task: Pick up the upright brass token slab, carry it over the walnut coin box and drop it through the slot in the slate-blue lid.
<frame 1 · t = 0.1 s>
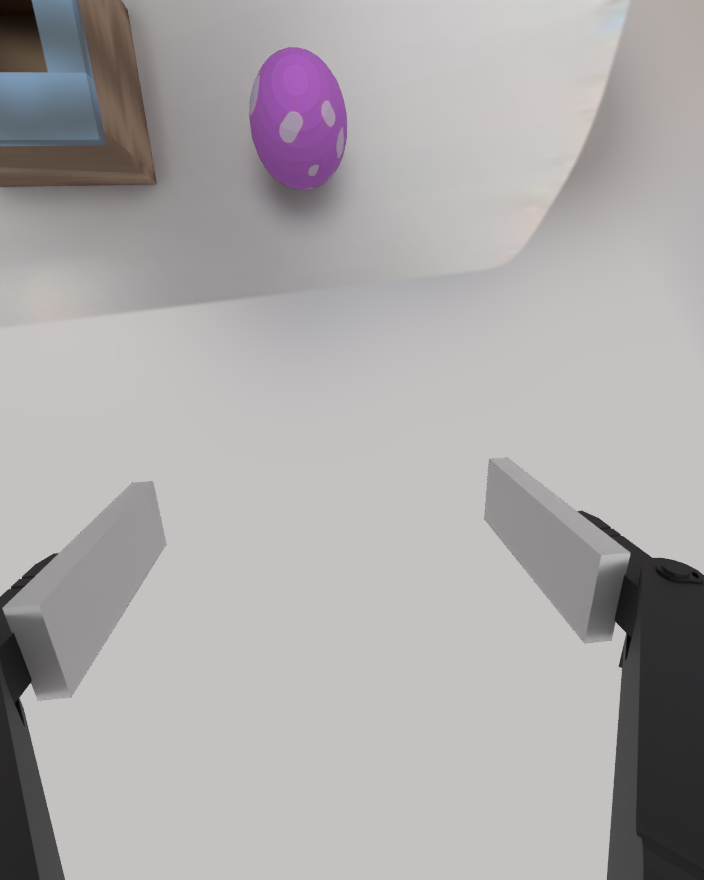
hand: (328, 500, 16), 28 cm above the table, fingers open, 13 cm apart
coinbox: (61, 102, 33), on the table
toy: (302, 170, 36), on the table
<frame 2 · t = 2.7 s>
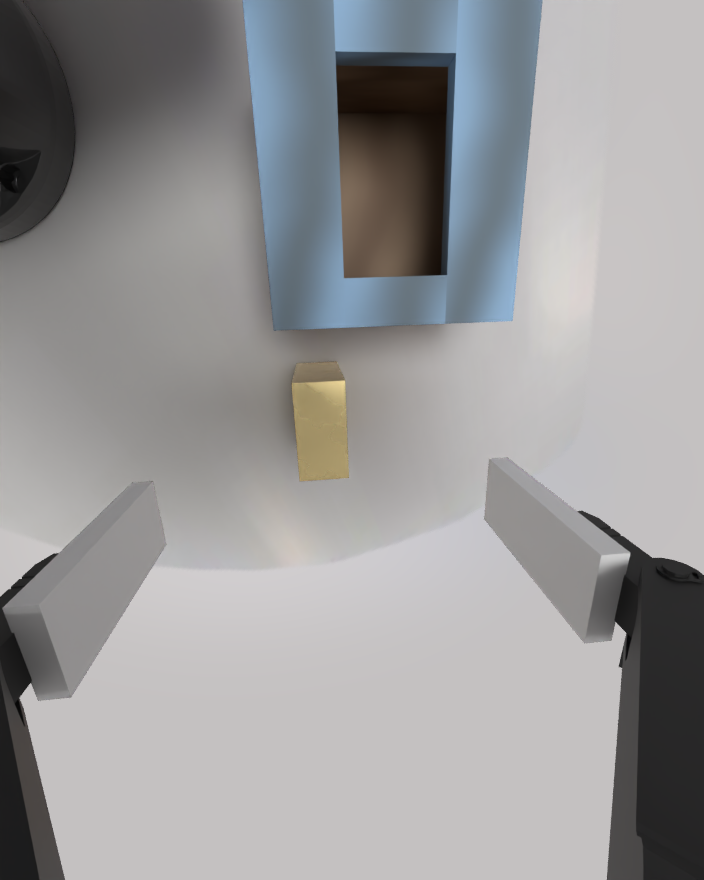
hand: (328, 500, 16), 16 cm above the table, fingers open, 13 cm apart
token: (319, 401, 31), on the table
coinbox: (367, 218, 27), on the table
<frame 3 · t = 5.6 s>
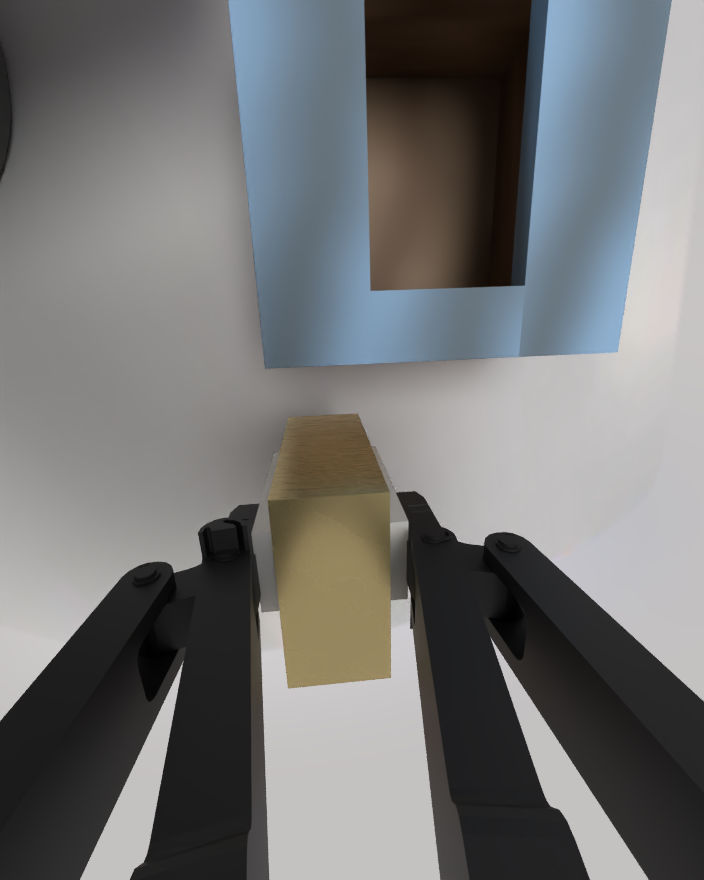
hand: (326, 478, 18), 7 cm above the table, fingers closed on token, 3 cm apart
token: (326, 478, 18), point 6 cm above the table, touching gripper
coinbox: (392, 216, 21), on the table
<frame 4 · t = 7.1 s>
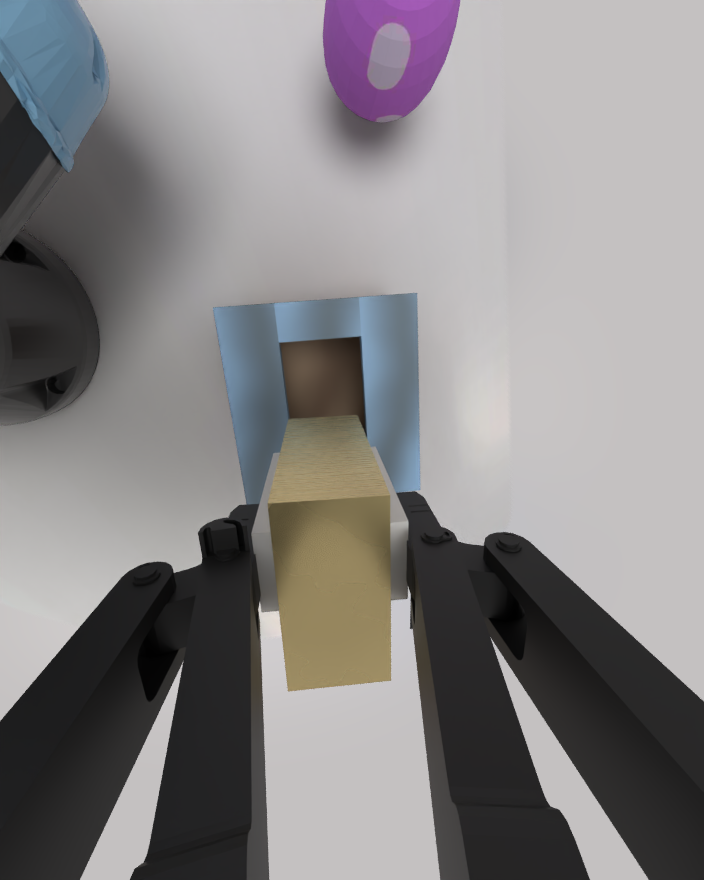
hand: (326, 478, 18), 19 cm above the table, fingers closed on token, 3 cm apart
token: (326, 480, 18), point 18 cm above the table, touching gripper
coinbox: (323, 380, 35), on the table
toy: (366, 110, 29), on the table
when the fingers open (11 cm above the table, at t = 8.7 s): token drops 9 cm, resting on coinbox.
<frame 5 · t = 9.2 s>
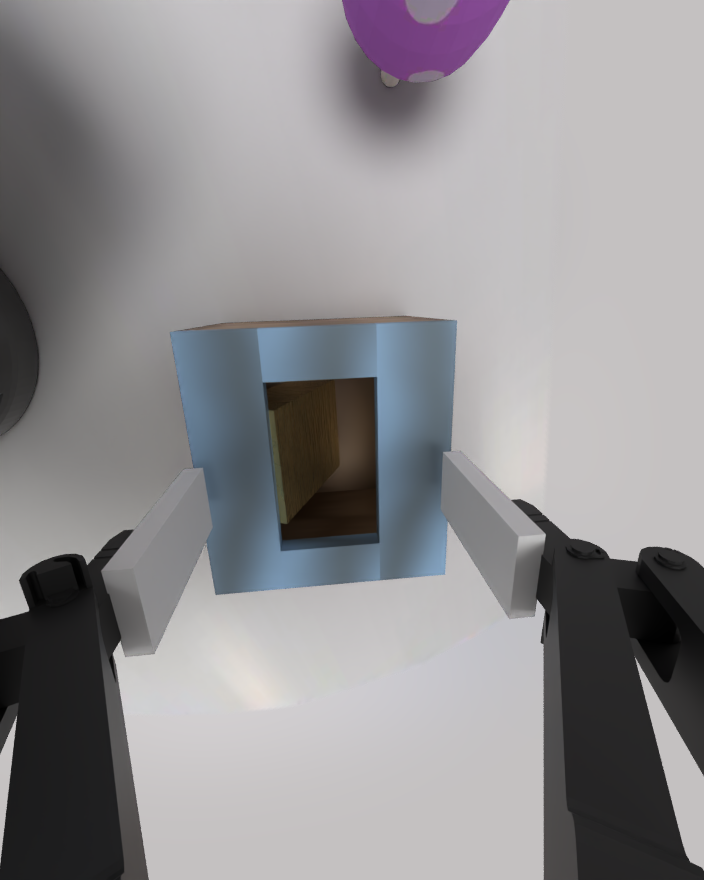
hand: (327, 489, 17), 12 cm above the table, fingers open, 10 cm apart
token: (316, 422, 27), point 1 cm above the table, tilted 23°, touching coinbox
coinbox: (321, 415, 28), on the table
toy: (389, 76, 23), on the table
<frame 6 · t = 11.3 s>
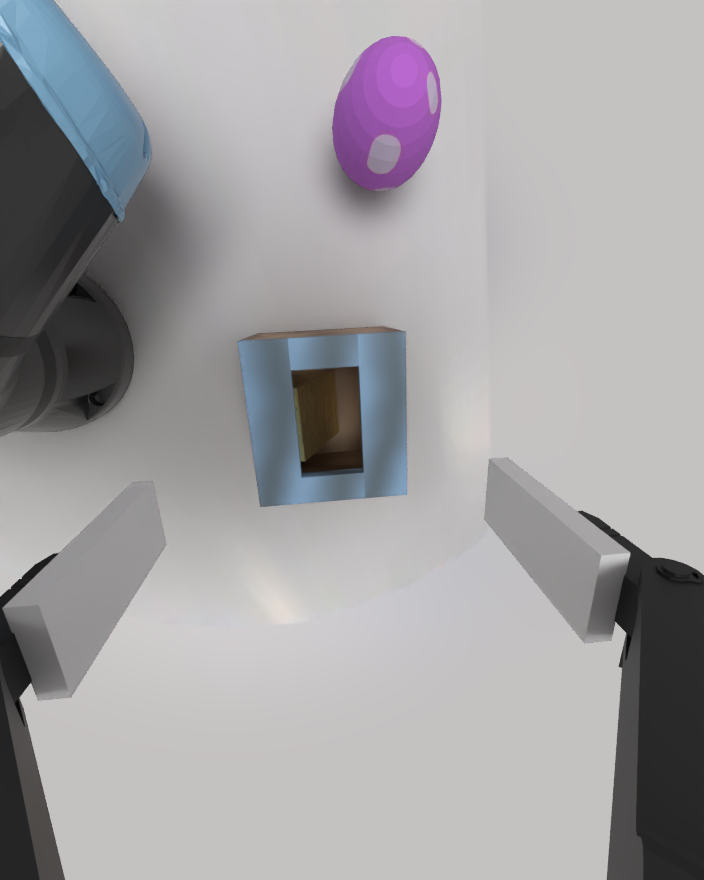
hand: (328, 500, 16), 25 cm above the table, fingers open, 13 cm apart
token: (322, 401, 39), point 1 cm above the table, tilted 23°, touching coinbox
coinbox: (326, 397, 40), on the table
toy: (367, 170, 34), on the table
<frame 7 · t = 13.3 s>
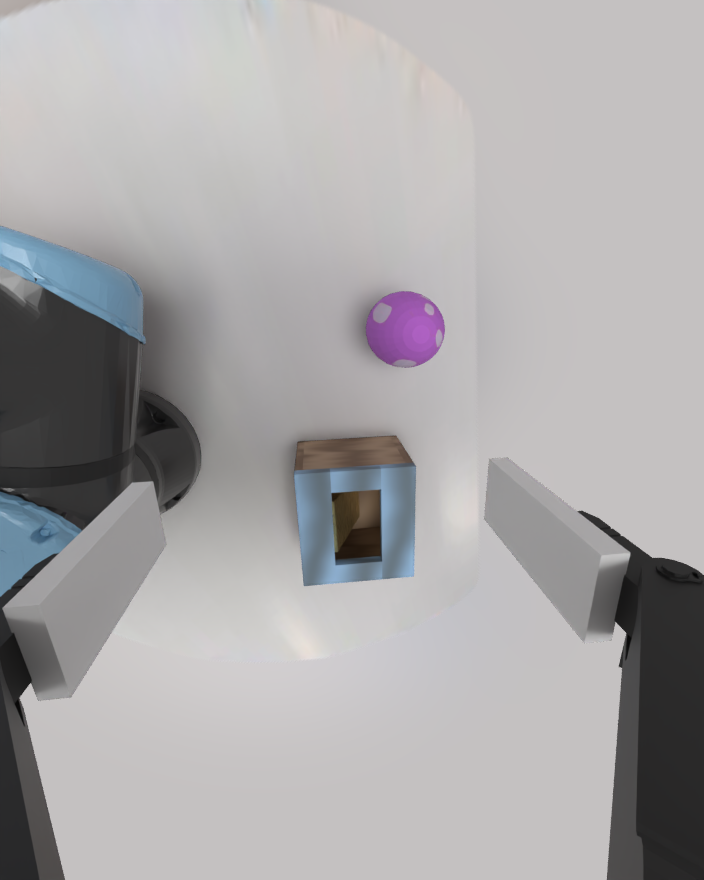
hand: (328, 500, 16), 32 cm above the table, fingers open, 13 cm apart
token: (347, 493, 49), point 1 cm above the table, tilted 24°, touching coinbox
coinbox: (349, 487, 51), on the table
toy: (387, 325, 45), on the table
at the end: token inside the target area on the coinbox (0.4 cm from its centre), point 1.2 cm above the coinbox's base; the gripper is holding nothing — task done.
